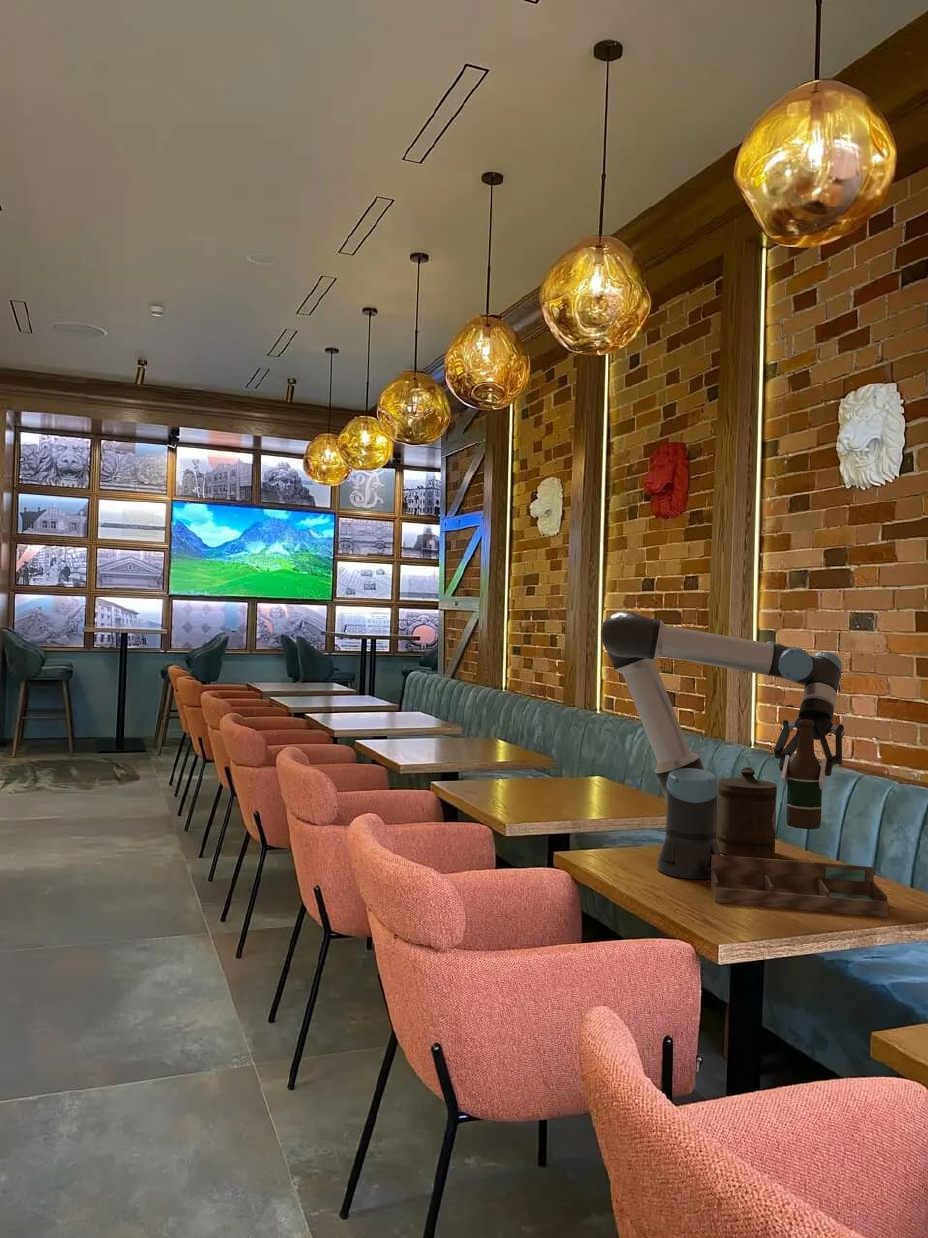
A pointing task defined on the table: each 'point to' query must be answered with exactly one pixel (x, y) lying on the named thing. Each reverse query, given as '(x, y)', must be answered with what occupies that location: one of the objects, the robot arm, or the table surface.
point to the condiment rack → (797, 885)
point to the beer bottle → (804, 782)
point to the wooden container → (746, 816)
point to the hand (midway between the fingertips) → (802, 783)
